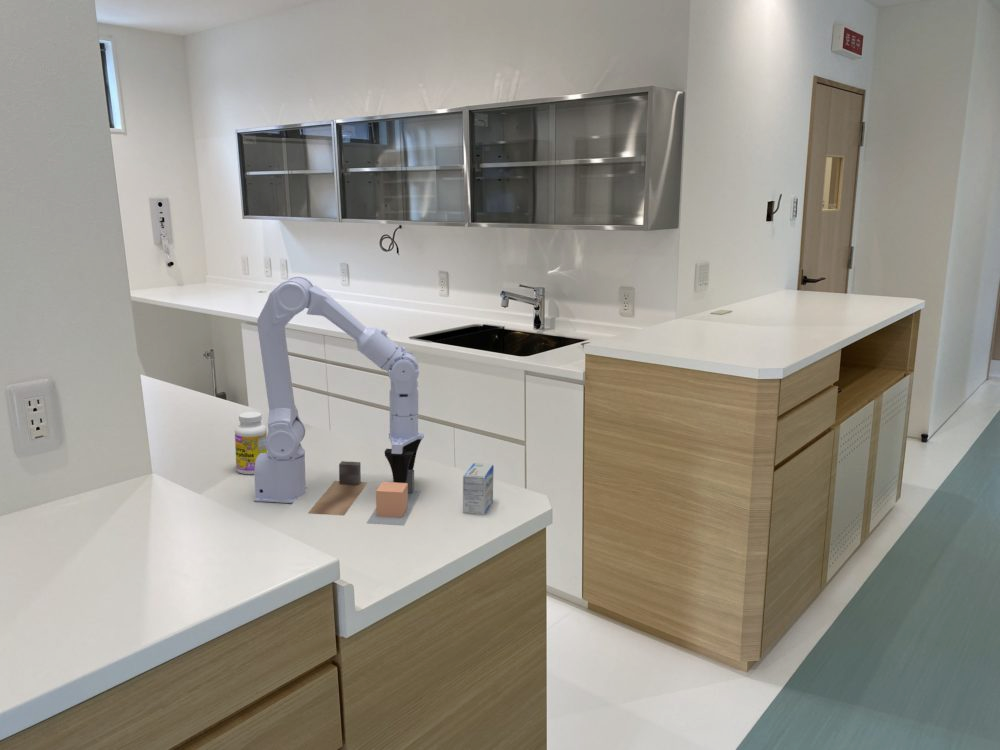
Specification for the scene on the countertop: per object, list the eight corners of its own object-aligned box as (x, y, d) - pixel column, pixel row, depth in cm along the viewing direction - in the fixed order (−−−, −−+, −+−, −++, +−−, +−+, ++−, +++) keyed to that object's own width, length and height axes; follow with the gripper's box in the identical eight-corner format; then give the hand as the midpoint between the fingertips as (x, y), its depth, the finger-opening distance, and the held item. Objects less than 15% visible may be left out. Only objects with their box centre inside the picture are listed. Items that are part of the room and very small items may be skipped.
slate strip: (366, 527, 139) (366, 500, 138) (387, 492, 156) (387, 468, 155) (404, 529, 138) (404, 502, 137) (421, 494, 156) (421, 470, 155)
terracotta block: (376, 516, 142) (376, 490, 141) (382, 506, 147) (382, 481, 146) (402, 517, 142) (402, 492, 141) (407, 507, 146) (407, 483, 145)
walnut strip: (307, 517, 142) (307, 491, 141) (335, 484, 160) (334, 460, 159) (344, 519, 142) (343, 493, 141) (367, 486, 160) (367, 462, 158)
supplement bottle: (229, 472, 165) (227, 416, 163) (250, 463, 171) (247, 409, 169) (254, 477, 163) (252, 419, 160) (274, 468, 169) (272, 412, 166)
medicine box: (484, 520, 144) (485, 477, 142) (461, 517, 145) (462, 474, 143) (493, 505, 152) (494, 464, 150) (471, 503, 152) (472, 462, 151)
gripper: (417, 423, 144) (416, 490, 147) (429, 404, 158) (429, 466, 161) (380, 421, 145) (381, 488, 147) (396, 403, 159) (396, 464, 162)
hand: (404, 477), depth 154 cm, fingers open, 7 cm apart
